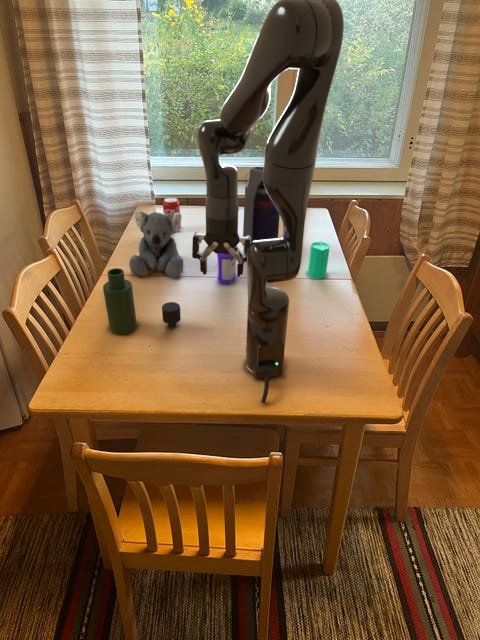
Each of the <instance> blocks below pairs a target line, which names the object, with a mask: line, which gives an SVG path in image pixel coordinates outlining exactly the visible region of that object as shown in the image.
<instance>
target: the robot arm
mask: <svg viewBox="0 0 480 640" xmlns="http://www.w3.org/2000/svg"><path fill="white" fill-rule="evenodd" d="M344 29H345V20H344V15H343V9H342V7H341V5H340V3H339V2H338V1H337V0H278V1H277V2H276V3H275V4H274V5H273V6H271V9H269V12H268V13H267V15H266V17H265V19H264V21H263V23H262V25H261V27H260V30H259V33H258V35H257V38H256V40H255V43H254V45H253V47H252V49H251V52H250V54H249V57H248V59H247V62H246V64H245V66H244V67H245V68H244V70H243V72H242V75H241V76H240V79H239V80H238V82H237V84H236V85H235V87H234V89H233V90H232V91H231V93H230V94H229V95H228V97H227V99H226V100H225V102H224V103H223V105H222V107H221V109H220V111H219V119H213V120H205V121H203V122H201V124H200V125H199V127H198V129H197V132H196V145H197V147H198V151H199V154H200V157H201V161H202V165H203V168H204V173H205V187H206V188H205V193H206V194H205V234H202V233H200V232H199V231H195V232H194V234H193V236H192V244H191V245H192V246H191V247H192V249H191V252H192V253H191V254H192V255H191V256H192V259H196V260H199V271H200V272H201V273H202V275H207V272H208V257H210V255H211V254H212V253H214V254H216V255H217V254H219V253H223V254H228V253H230V254H231V255H232V256H233V257H234V258H235V259H236V277H237V278H241V276H243V274H244V264H245V263H246V266H247V267H246V270H247V271H246V272H247V273H246V275H247V286H246V287H247V289H246V291H247V315H246V316H247V317H246V342H245V343H246V344H245V363H244V364H245V365H244V366H245V369H246V371H247V372H248V373H249V374H251V375H252V376H253V378H254V379H255V380H262V379H264V387H263V393H262V397H261V401H260V402H261V403H263V404H266V401H267V398H268V394H269V388H270V387H269V385H270V378H276V377H282V376H283V371H284V369H285V353H286V343H287V342H286V341H287V328H288V319H289V310H290V309H289V308H290V297H289V295H288V294H287V292H286V291H285V290H283V289H281V288H279V287H277V286H274V285H268V284H273V283H280V282H288V281H292V280H295V279H296V278H297V277H298V275H299V273H300V270H301V264H302V258H303V246H304V234H305V224H306V223H305V222H306V216H307V210H308V205H309V204H308V203H309V197H310V193H311V188H312V184H313V178H314V173H315V168H316V162H317V155H318V149H319V141H320V137H321V131H322V127H323V122H324V117H325V111H326V108H327V103H328V100H329V95H330V91H331V87H332V84H333V80H334V76H335V74H336V73H335V72H336V69H337V67H338V62H339V58H340V55H341V50H342V45H343V40H344V32H345V31H344ZM288 69H290V70H298V71H297V76H296V82H295V86H294V90H293V93H292V96H291V97H290V100H289V102H288V104H287V106H286V107H285V109H284V111H283V113H282V114H281V116H280V117H279V119H278V121H277V122H276V124H275V126H274V128H273V130H272V132H271V133H270V135H269V137H268V139H267V142H266V147H265V153H264V161H263V167H264V170H263V183H264V187H265V189H266V191H267V194H268V195H269V197H270V199H271V201H272V202H273V204H274V206H275V207H276V209H277V210H278V212H279V214H280V219H281V220H282V225H283V226H282V227H283V230H282V231H283V232H282V235H281V237H278V238H274V239H264V240H255V241H252V242H251V236H250V235H247V236H246V237H243V236H240V235H239V211H240V208H239V207H240V206H239V197H238V195H239V194H238V193H239V192H238V186H239V184H238V183H239V182H238V181H239V174H238V172H239V171H238V169H237V168H236V167H235V166H234V165H231V164H227V163H221V162H220V156H228V155H234V154H238V153H240V152H242V151H243V150H244V149H245V148H246V147H247V145H248V143H249V139H250V136H251V133H252V130H253V128H254V127H255V126H256V124H257V123H259V121H260V120H261V119H262V117H263V116H264V115H265V113H266V111H267V110H268V108H269V105H270V101H271V85H272V83H273V82H274V81H275V80H276V79H277V78H278V77H279V76H280V75H281V74H283V73H284V72H285V71H287V70H288ZM203 241H204V242H205V244H206V245H207V246H206V247H205V249H204V250H203V251H200V244H202V242H203ZM239 243H241V245H242V247H244V246H245V252H244V255H243V253H242V252H241V250H240V248H239V247H238V245H239ZM245 253H246V254H245Z"/></svg>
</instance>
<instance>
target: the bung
mask: <svg viewBox="0 0 480 640" xmlns="http://www.w3.org/2000/svg"><path fill="white" fill-rule="evenodd" d="M161 314H162V322H163V323H165V324H167V327H168V328H169V329H175V328H176V327H177V323H178V324H179V322H180V321H181V320H182V318H181V305H180V304H179V303H178V302H174V301H169V302H165V303H163V304H162V305H161Z"/></svg>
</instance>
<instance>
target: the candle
mask: <svg viewBox="0 0 480 640" xmlns="http://www.w3.org/2000/svg"><path fill="white" fill-rule="evenodd" d="M330 248H331V245H330V243H327V242H324V241H313V242H311V244H310V250H309V251H310V252H309V259H308V260H309V261H308V270H307V275H308V276H309V277H310V278H312V279H317V280H319V279H324V278H326V276H327V268H328V262H329V255H330Z"/></svg>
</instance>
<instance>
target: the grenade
mask: <svg viewBox="0 0 480 640" xmlns="http://www.w3.org/2000/svg"><path fill="white" fill-rule="evenodd" d="M263 170H264V166H255V167H253V168H250V169H249V172H248V173H246V174H245V176H244V180H243V182H244V184H246V185H245V186H244V202H243V203H244V204H243V225H242V228H243V229H242V237H246V236H247V235H250V236H251V242H252V241H255V240H264V239H274V238H279V229H280V218H281V216H280V214H279V212H278V210H277V209H276V207H275V206H274V204H273V202H272V201H271V199H270V197H269V195H268V194H267V191H266V189H265V187H264V183H263ZM248 175H249V177H248V181H246V178H247V176H248ZM243 252H244V255H246V253H245V246H243Z"/></svg>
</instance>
